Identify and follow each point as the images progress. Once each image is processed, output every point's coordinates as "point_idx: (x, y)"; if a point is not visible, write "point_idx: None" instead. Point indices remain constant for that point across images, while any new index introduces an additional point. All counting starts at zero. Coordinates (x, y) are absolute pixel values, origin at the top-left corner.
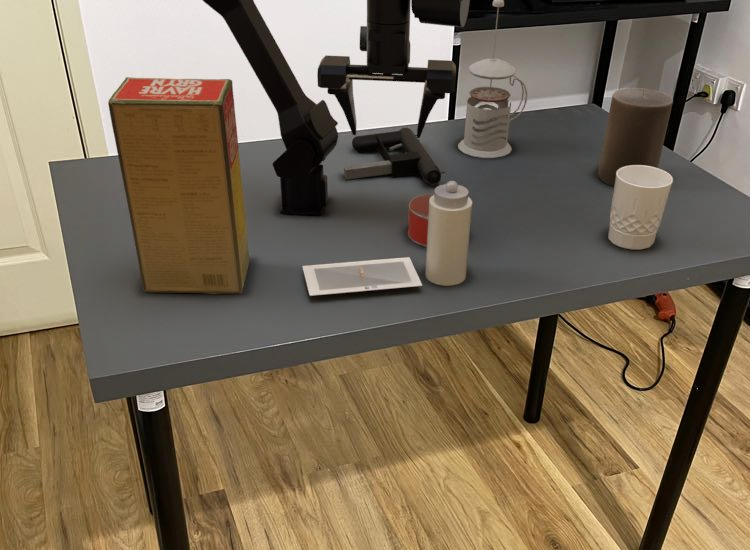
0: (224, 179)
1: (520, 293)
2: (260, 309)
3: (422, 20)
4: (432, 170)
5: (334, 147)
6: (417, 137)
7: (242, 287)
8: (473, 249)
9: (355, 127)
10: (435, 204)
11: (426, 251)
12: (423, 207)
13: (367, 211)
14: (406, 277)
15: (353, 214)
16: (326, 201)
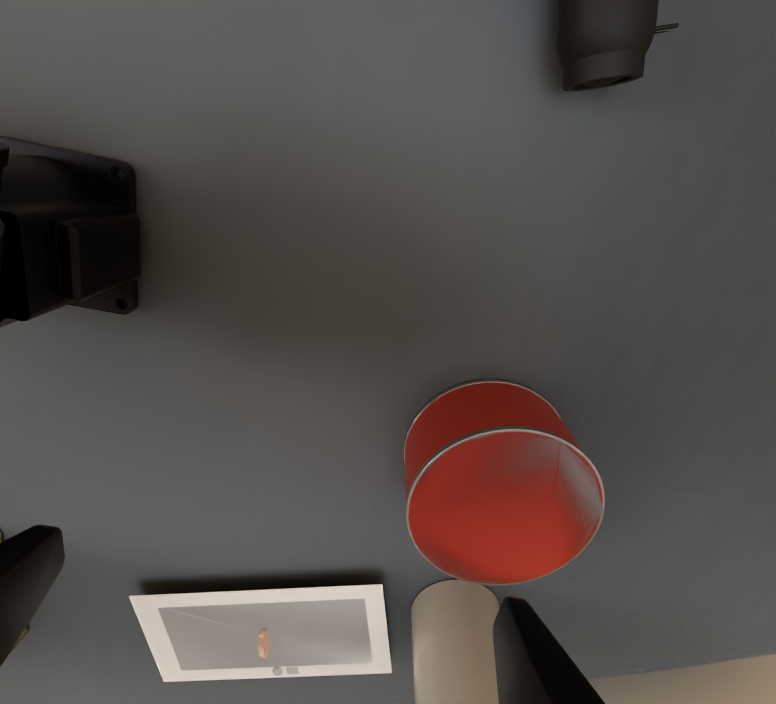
0: None
1: (585, 670)
2: (82, 671)
3: None
4: (608, 77)
5: (3, 232)
6: (494, 635)
7: (21, 637)
8: None
9: (19, 627)
10: None
11: (414, 663)
12: (452, 518)
13: (293, 286)
14: (363, 649)
15: (246, 304)
16: (134, 262)
